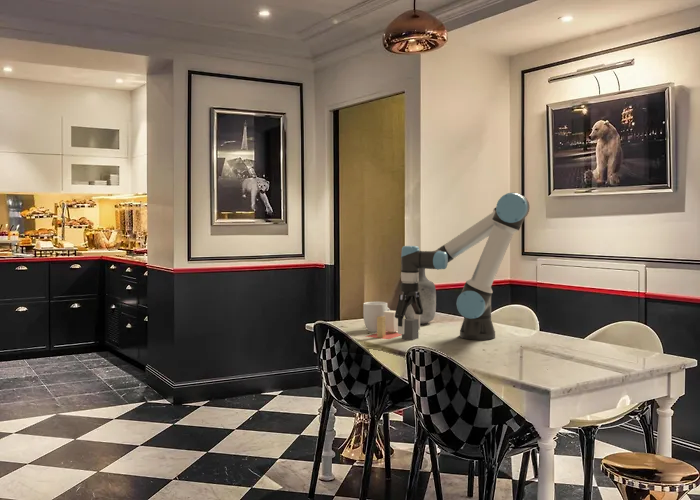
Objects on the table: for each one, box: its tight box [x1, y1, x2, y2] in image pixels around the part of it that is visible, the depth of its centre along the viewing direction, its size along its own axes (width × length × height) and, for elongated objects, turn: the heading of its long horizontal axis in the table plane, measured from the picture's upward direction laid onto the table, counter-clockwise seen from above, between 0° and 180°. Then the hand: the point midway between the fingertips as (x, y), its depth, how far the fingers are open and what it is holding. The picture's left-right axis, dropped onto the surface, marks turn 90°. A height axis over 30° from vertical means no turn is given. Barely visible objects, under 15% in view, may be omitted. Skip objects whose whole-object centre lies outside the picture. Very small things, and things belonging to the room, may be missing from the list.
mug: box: [362, 301, 391, 333], centre depth 313 cm, size 15×11×13 cm
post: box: [376, 316, 386, 339], centre depth 295 cm, size 3×3×9 cm
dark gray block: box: [401, 318, 420, 341], centre depth 291 cm, size 5×5×9 cm
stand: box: [365, 309, 402, 340], centre depth 300 cm, size 12×17×10 cm
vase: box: [402, 268, 437, 325], centre depth 332 cm, size 16×16×30 cm
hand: (409, 331), depth 291 cm, fingers open, 13 cm apart
